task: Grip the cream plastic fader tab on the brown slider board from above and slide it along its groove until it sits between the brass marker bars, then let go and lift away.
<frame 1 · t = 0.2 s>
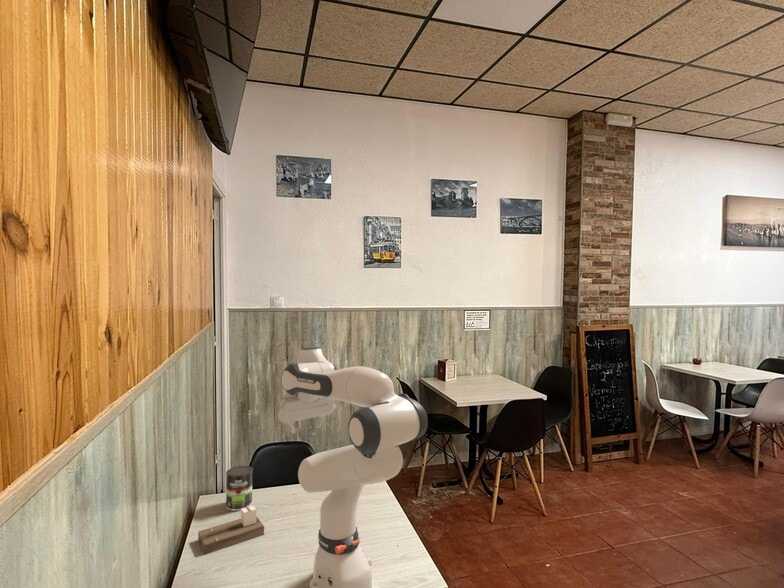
hand: (305, 429, 147), 39 cm above the table, tool pointing down, fingers open, 8 cm apart
brown slider board: (231, 537, 147), on the table
coffee can: (239, 505, 170), on the table
fader tab: (248, 515, 151), point 6 cm above the table, slide at -6.0 cm
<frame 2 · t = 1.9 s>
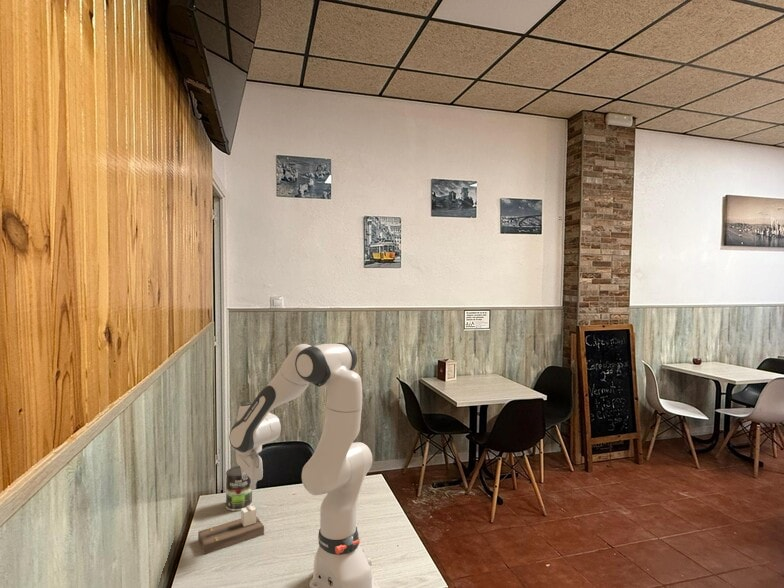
hand: (248, 483, 151), 17 cm above the table, tool pointing down, fingers open, 8 cm apart
nothing on the table moved.
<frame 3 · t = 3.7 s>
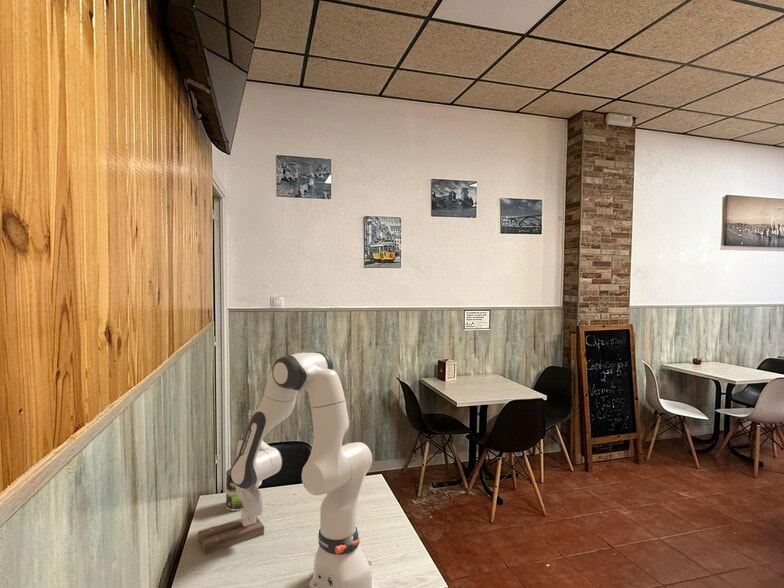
hand: (248, 517, 151), 5 cm above the table, tool pointing down, fingers closed on fader tab, 3 cm apart
fader tab: (248, 515, 151), point 6 cm above the table, slide at -6.0 cm, touching gripper
everything else where it was.
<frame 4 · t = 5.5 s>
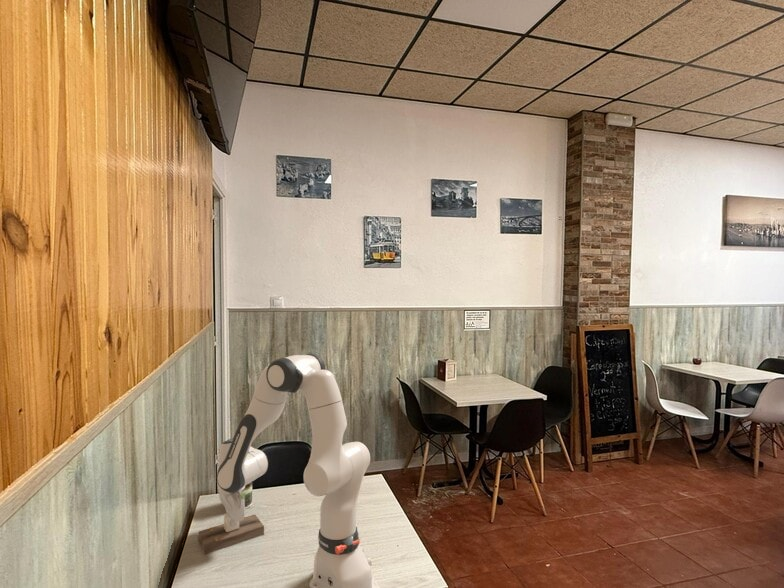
hand: (231, 522, 147), 5 cm above the table, tool pointing down, fingers closed on fader tab, 3 cm apart
fader tab: (231, 520, 147), point 6 cm above the table, slide at 0.0 cm, touching gripper
everything else where it was.
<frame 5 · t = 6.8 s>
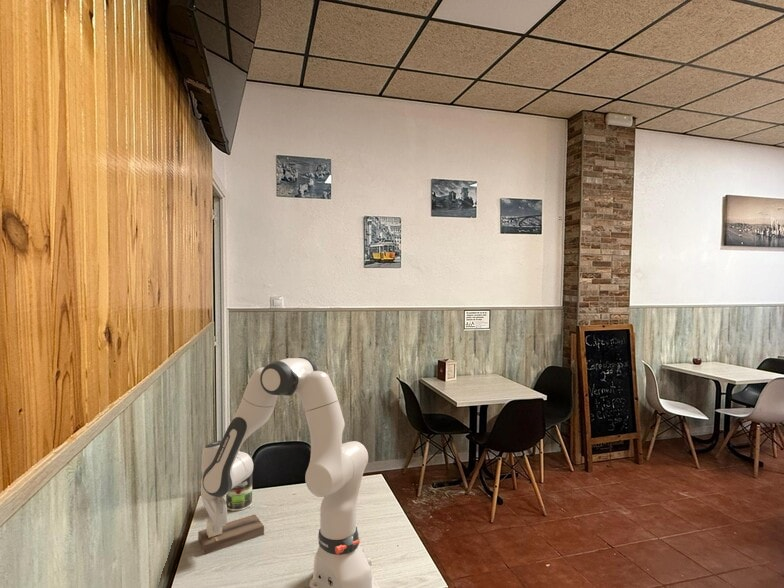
hand: (214, 528, 144), 5 cm above the table, tool pointing down, fingers closed on fader tab, 3 cm apart
fader tab: (214, 525, 144), point 6 cm above the table, slide at 5.8 cm, touching gripper
everything else where it was.
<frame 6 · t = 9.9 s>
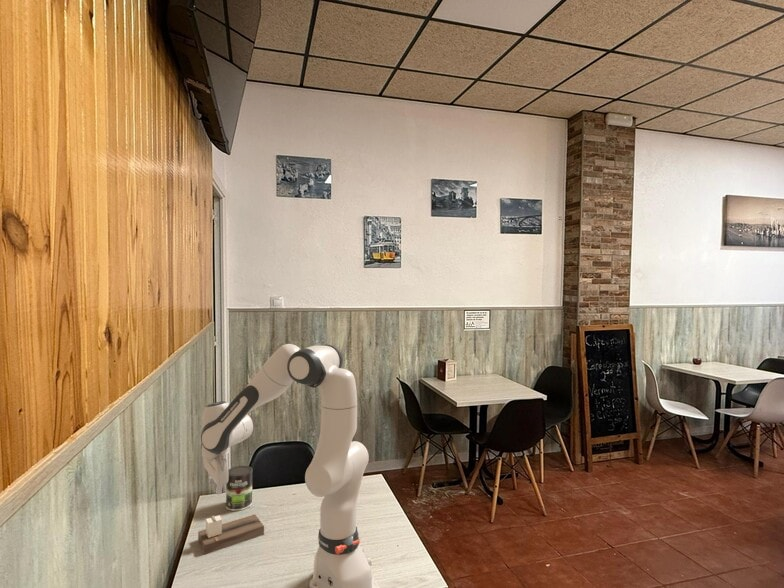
hand: (215, 488, 144), 19 cm above the table, tool pointing down, fingers open, 8 cm apart
fader tab: (213, 525, 144), point 6 cm above the table, slide at 6.0 cm
everything else where it was.
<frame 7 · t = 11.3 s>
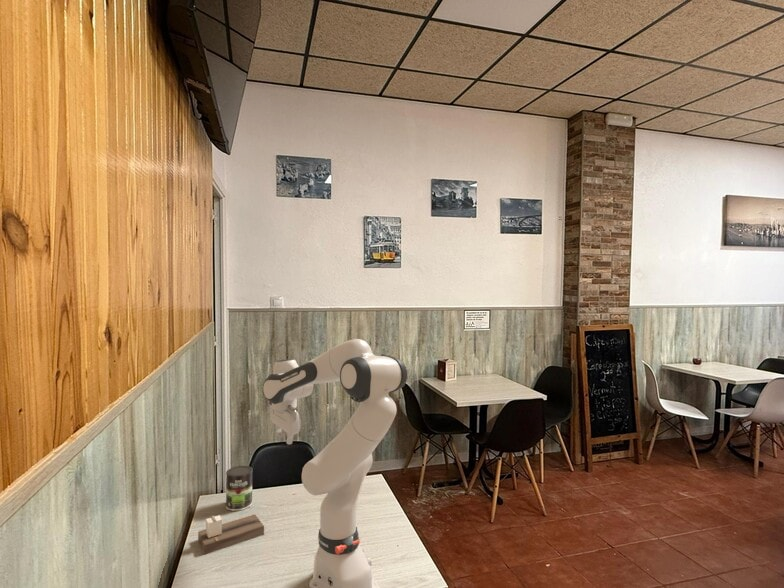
hand: (284, 440, 153), 33 cm above the table, tool pointing down, fingers open, 8 cm apart
nothing on the table moved.
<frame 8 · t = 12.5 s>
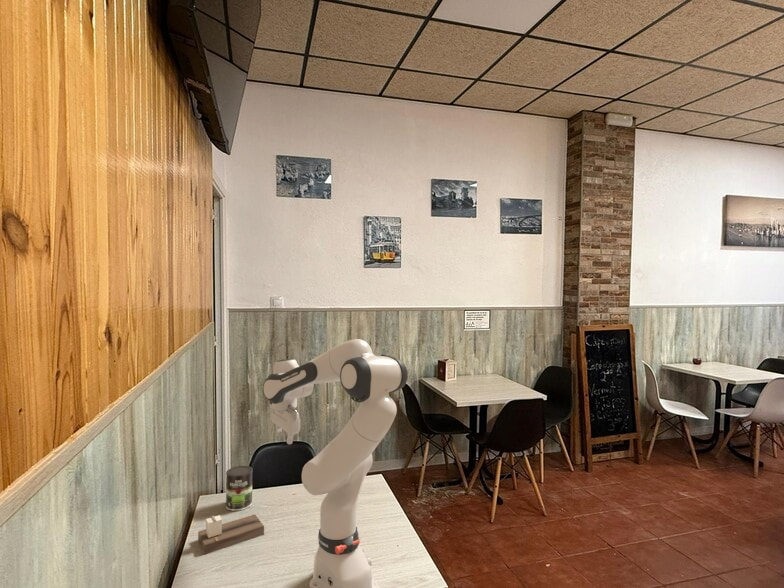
hand: (284, 439, 153), 33 cm above the table, tool pointing down, fingers open, 8 cm apart
nothing on the table moved.
at the end: fader tab slide at 6.0 cm; the gripper is holding nothing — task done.
